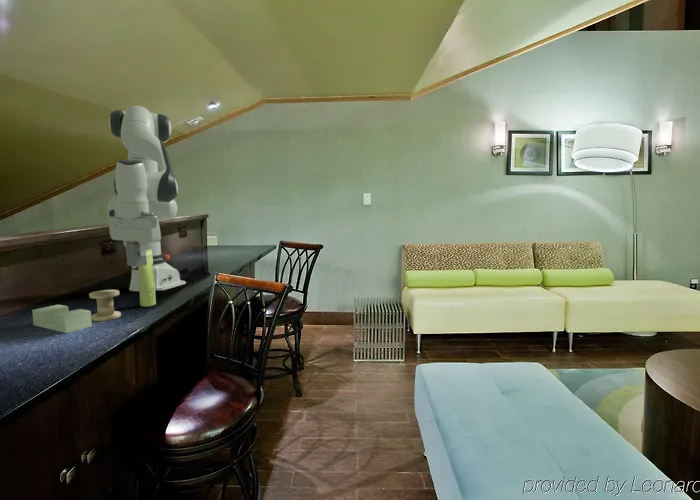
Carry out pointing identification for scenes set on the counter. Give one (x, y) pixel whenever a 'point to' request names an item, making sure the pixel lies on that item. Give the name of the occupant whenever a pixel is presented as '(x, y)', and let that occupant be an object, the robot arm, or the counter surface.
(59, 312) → the notch board
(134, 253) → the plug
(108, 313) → the bobbin
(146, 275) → the tube
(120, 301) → the counter surface
